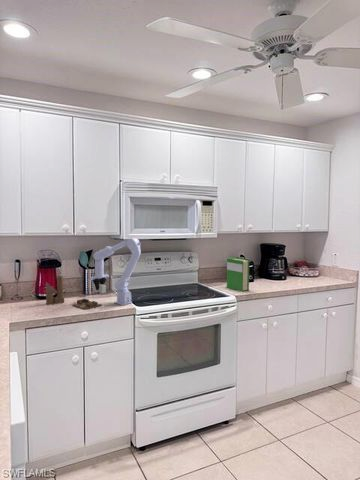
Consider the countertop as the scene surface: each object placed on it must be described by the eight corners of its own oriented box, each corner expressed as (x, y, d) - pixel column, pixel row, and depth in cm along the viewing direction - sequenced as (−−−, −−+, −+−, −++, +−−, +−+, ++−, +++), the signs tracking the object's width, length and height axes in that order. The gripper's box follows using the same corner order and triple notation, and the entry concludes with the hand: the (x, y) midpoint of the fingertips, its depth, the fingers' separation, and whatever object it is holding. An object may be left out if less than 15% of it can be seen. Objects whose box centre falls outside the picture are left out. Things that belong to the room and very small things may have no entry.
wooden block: (46, 303, 227) (45, 276, 226) (62, 301, 233) (62, 275, 232) (47, 305, 224) (47, 277, 223) (64, 302, 230) (64, 275, 229)
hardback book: (248, 290, 271) (249, 260, 270) (241, 291, 267) (242, 260, 266) (233, 286, 286) (233, 257, 284) (226, 287, 282) (227, 258, 280)
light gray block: (105, 292, 232) (105, 285, 231) (102, 293, 229) (102, 285, 229) (96, 290, 238) (96, 283, 238) (93, 291, 236) (93, 283, 235)
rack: (101, 305, 223) (101, 301, 223) (85, 309, 214) (85, 304, 213) (88, 302, 232) (88, 297, 232) (72, 305, 223) (72, 301, 223)
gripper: (104, 267, 240) (104, 286, 241) (86, 270, 229) (86, 290, 230) (110, 268, 236) (111, 288, 237) (93, 271, 225) (93, 291, 226)
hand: (99, 289), depth 233 cm, fingers closed on light gray block, 3 cm apart
